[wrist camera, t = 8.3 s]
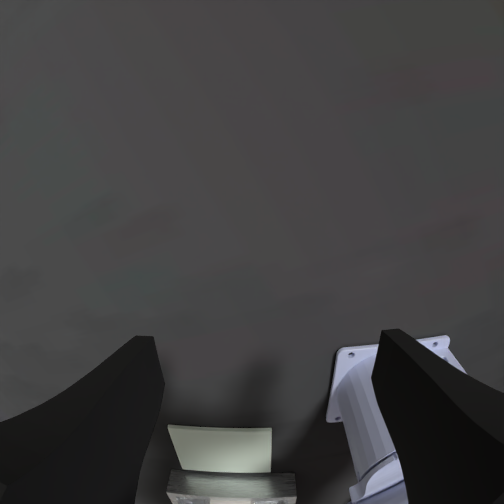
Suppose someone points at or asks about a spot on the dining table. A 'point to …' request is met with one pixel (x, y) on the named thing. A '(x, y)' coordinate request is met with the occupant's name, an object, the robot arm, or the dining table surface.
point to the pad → (222, 448)
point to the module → (231, 502)
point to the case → (231, 487)
